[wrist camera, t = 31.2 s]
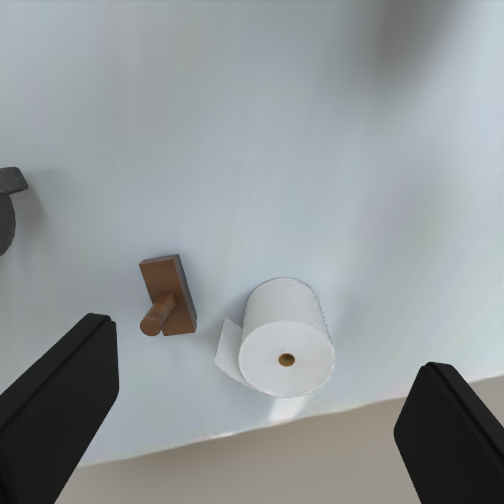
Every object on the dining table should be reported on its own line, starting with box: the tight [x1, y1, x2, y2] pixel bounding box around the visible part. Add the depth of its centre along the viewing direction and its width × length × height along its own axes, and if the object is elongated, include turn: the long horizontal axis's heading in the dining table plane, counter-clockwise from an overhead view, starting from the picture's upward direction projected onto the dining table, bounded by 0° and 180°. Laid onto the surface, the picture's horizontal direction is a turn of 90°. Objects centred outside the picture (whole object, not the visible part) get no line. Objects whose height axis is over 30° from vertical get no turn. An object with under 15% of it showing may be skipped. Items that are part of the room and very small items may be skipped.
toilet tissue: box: [214, 278, 336, 398], centre depth 36 cm, size 11×12×10 cm
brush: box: [139, 255, 197, 336], centre depth 36 cm, size 11×4×9 cm, turn 10°
